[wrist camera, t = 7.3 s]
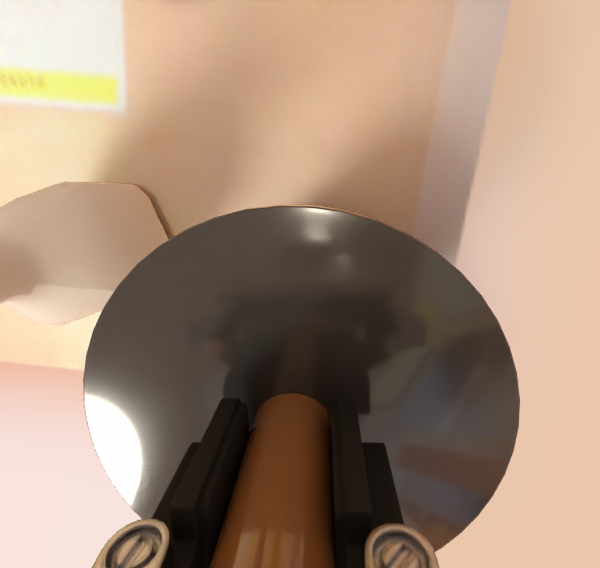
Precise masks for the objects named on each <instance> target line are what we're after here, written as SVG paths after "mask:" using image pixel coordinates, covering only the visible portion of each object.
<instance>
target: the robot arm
mask: <svg viewBox="0 0 600 568" xmlns="http://www.w3.org/2000/svg"><path fill="white" fill-rule="evenodd" d="M331 418H332V448H333V479H334V509H335V539H336V558H337V562H338V568H439V565H438V561H437V557H436V555H435V552H434V550H433V547H432V546H431V545H430V543H429V542H428V541H427V539H426V538H425V537H424V536H423V535H421V534H420V533H419V532H418V531H417V530H415V529H413V528H411V527H409V526H407V525H404V521H403V517H402V513H401V509H400V505H399V501H398V496H397V492H396V488H395V484H394V480H393V475H392V471H391V467H390V463H389V459H388V455H387V450H386V447H385V444H384V443H370V442H362V440H361V433H360V427H359V420H358V413H357V406H356V400H355V397H338V402H331ZM249 435H250V429H249V420H248V410H247V404H246V403H241V400H240V398H223V399H221V401H220V403H219V405H218V407H217V409H216V411H215V413H214V415H213V417H212V419H211V421H210V423H209V425H208V427H207V429H206V431H205V433H204V436H203V438H202V440H201V442H193V443H192V444H191V445H190V446H189V448H188V449H187V451H186V453H185V455H184V457H183V459H182V461H181V463H180V465H179V467H178V469H177V471H176V472H175V474H174V476H173V478H172V480H171V482H170V484H169V486H168V488H167V490H166V492H165V493H164V495H163V497H162V499H161V501H160V503H159V505H158V507H157V509H156V511H155V513H154V515H153V516H152V518H151V519H150V518H147V519H141V520H138V521H135V522H132V523H130V524H128V525H126V526H125V527H123V528H122V529H120V530H119V531H117V532H116V533H115V534H114V535H113V536H112V537H111V538H110V539H109V540H108V542H107V543H106V544H105V546H104V547H103V549H102V550H101V552H100V554H99V556H98V557H97V559H96V561H95V563H94V565H93V566H92V568H209V567H210V564H211V560H212V557H213V554H214V550H215V547H216V544H217V540H218V537H219V534H220V531H221V527H222V524H223V521H224V517H225V514H226V511H227V507H228V504H229V501H230V497H231V494H232V491H233V488H234V484H235V481H236V478H237V474H238V471H239V468H240V464H241V461H242V458H243V454H244V451H245V448H246V444H247V441H248V438H249Z"/></svg>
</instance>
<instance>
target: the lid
mask: <svg viewBox="0 0 600 568" xmlns="http://www.w3.org/2000/svg"><path fill="white" fill-rule="evenodd" d="M83 381H84V382H83V383H84V406H85V412H86V417H87V424H88V428H89V431H90V434H91V438H92V441H93V444H94V447H95V450H96V453H97V455H98V457H99V459H100V461H101V463H102V465H103V467H104V470H105V472H106V473H107V475H108V476H109V478H110V479H111V481H112V483H113V484H114V486H115V488H116V489H117V491H118V492H119V493H120V495H121V496H122V497H123V498H124V499H125V501H126V502H127V503H128V504H129V506H130V507H131V508H132V509H133V510H134V512H136V513H137V514H138V515H139V516H140V517H141V518H142V519H147V518H150V519H151V518H152V516H153V515H154V513H155V511H156V509H157V507H158V505H159V503H160V501H161V499H162V497H163V495H164V493H165V492H166V490H167V488H168V486H169V484H170V482H171V480H172V478H173V476H174V474H175V472H176V471H177V469H178V467H179V465H180V463H181V461H182V459H183V457H184V455H185V453H186V451H187V449H188V448H189V446H190V445H191V444H192V443H193V442H201V440H202V438H203V436H204V433H205V431H206V429H207V427H208V425H209V423H210V421H211V419H212V417H213V415H214V413H215V411H216V409H217V407H218V405H219V403H220V401H221V399H223V398H240V400H241V403H246V404H247V410H248V420H249V429H250V435H249V438H248V441H247V444H246V448H245V451H244V454H243V458H242V461H241V464H240V468H239V471H238V474H237V478H236V481H235V484H234V488H233V491H232V494H231V497H230V501H229V504H228V507H227V511H226V514H225V517H224V521H223V524H222V527H221V531H220V534H219V537H218V540H217V544H216V547H215V550H214V554H213V557H212V560H211V564H210V567H209V568H338V562H337V558H336V539H335V509H334V479H333V448H332V418H331V402H338V397H355V400H356V406H357V413H358V420H359V427H360V433H361V440H362V442H370V443H384V444H385V447H386V450H387V455H388V459H389V463H390V467H391V471H392V475H393V480H394V484H395V488H396V492H397V496H398V501H399V505H400V509H401V513H402V517H403V521H404V525H407V526H409V527H411V528H413V529H415V530H417V531H418V532H419V533H420V534H421V535H423V536H424V537H425V538H426V539H427V541H428V542H429V543H430V545H431V546H432V547H433V550H434V552H436V551H437V550H439V549H441V548H442V547H444V546H445V545H446V544H447V543H449V542H450V541H451V540H453V539H454V538H455V537H456V536H458V535H459V534H460V533H461V532H462V531H463V530H464V529H465V528H466V527H467V526H468V525H469V524H470V523H471V522H472V521H473V520H474V519H475V518H476V517H477V516H478V515H479V514H480V512H481V511H482V509H483V508H484V507H485V506H486V504H487V503H488V502H489V501H490V499H491V498H492V496H493V495H494V493H495V491H496V489H497V488H498V486H499V484H500V482H501V480H502V479H503V477H504V475H505V473H506V470H507V467H508V464H509V462H510V459H511V456H512V454H513V451H514V446H515V441H516V436H517V431H518V427H519V408H520V397H519V388H518V380H517V372H516V368H515V365H514V361H513V358H512V354H511V350H510V346H509V344H508V342H507V340H506V337H505V335H504V333H503V331H502V329H501V326H500V324H499V322H498V320H497V319H496V317H495V315H494V314H493V312H492V311H491V309H490V308H489V306H488V305H487V303H486V301H485V300H484V299H483V297H482V295H481V294H480V293H479V292H478V291H477V290H476V289H475V287H474V286H473V285H472V284H471V283H470V282H469V281H468V280H467V279H466V277H465V276H464V275H463V274H462V273H461V272H460V271H459V270H458V269H457V268H455V267H454V266H453V265H452V264H451V263H449V262H448V261H447V260H446V259H445V258H444V257H442V256H441V255H440V254H439V253H438V252H436V251H435V250H433V249H432V248H430V247H428V246H427V245H425V244H424V243H422V242H420V241H419V240H417V239H416V238H414V237H412V236H411V235H409V234H407V233H405V232H403V231H401V230H399V229H397V228H394V227H392V226H390V225H388V224H385V223H383V222H381V221H379V220H376V219H374V218H370V217H367V216H363V215H360V214H356V213H353V212H350V211H346V210H341V209H334V208H328V207H321V206H315V205H274V206H265V207H257V208H249V209H245V210H241V211H237V212H234V213H230V214H226V215H222V216H218V217H215V218H212V219H210V220H207V221H205V222H203V223H200V224H198V225H195V226H193V227H191V228H188V229H186V230H184V231H182V232H181V233H179V234H177V235H176V236H174V237H172V238H171V239H169V240H167V241H166V242H164V243H162V244H161V245H159V246H158V247H157V248H156V249H154V250H153V251H152V252H151V253H150V254H148V255H147V256H146V257H145V258H143V259H142V260H141V261H140V262H139V263H137V265H136V266H135V267H134V268H133V269H132V270H131V271H130V272H129V273H128V274H127V276H126V277H125V278H124V279H123V280H122V281H121V282H120V283H119V285H118V286H117V288H116V289H115V291H114V292H113V294H112V295H111V297H110V298H109V300H108V301H107V303H106V304H105V306H104V308H103V310H102V312H101V315H100V317H99V319H98V321H97V323H96V326H95V328H94V330H93V333H92V337H91V340H90V344H89V347H88V351H87V355H86V362H85V370H84V379H83Z"/></svg>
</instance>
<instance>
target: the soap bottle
mask: <svg viewBox="0 0 600 568" xmlns="http://www.w3.org/2000/svg"><path fill="white" fill-rule="evenodd" d="M167 240H169V239H168V237H167V235H166V233H165V231H164V229H163V227H162V224H161V222H160V220H159V218H158V216H157V214H156V212H155V210H154V207H153V205H152V203H151V201H150V199H149V197H148V196H147V195H146V194H145V193H144V192H143V191H142V190H141V189H140V188H139V187H138V186H136V185H134V184H121V183H89V182H63V183H59V184H55V185H52V186H50V187H47V188H44V189H42V190H39V191H36V192H34V193H31V194H28V195H25V196H23V197H20V198H17V199H15V200H13V201H11V202H9V203H7V204H6V205H4V206H2V207H0V304H1V303H5V304H6V305H8V306H9V307H11V308H13V309H14V310H16V311H17V312H19V313H21V314H22V315H24V316H25V317H27V318H28V319H30V320H31V321H33V322H35V323H42V324H51V325H64V324H67V323H70V322H73V321H75V320H78V319H81V318H83V317H86V316H89V315H91V314H94V313H97V312H99V311H102V310H103V308H104V306H105V304H106V303H107V301H108V300H109V298H110V297H111V295H112V294H113V292H114V291H115V289H116V288H117V286H118V285H119V283H120V282H121V281H122V280H123V279H124V278H125V277H126V276H127V274H128V273H129V272H130V271H131V270H132V269H133V268H134V267H135V266H136V265H137V263H139V262H140V261H141V260H142V259H143V258H145V257H146V256H147V255H148V254H150V253H151V252H152V251H153V250H154V249H156V248H157V247H158V246H159V245H161V244H162V243H164V242H166V241H167Z"/></svg>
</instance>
